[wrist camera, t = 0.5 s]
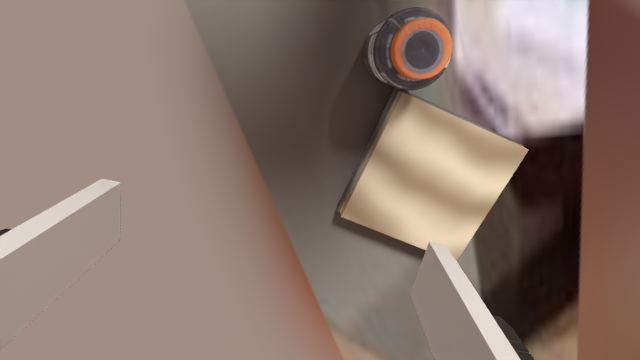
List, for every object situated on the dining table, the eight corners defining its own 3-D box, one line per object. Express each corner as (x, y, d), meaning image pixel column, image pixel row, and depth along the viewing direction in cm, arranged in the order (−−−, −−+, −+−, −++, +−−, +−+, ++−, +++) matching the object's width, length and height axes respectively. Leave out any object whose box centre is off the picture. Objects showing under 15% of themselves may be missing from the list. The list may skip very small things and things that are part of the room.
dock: (395, 86, 35) (401, 89, 32) (515, 141, 37) (531, 148, 34) (337, 206, 40) (338, 217, 37) (447, 249, 42) (456, 264, 39)
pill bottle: (433, 34, 34) (485, 23, 23) (405, 92, 35) (442, 108, 25) (377, 8, 33) (404, -15, 22) (352, 69, 35) (365, 75, 24)
